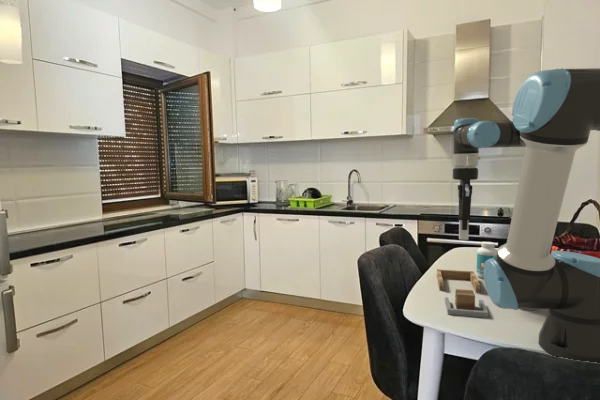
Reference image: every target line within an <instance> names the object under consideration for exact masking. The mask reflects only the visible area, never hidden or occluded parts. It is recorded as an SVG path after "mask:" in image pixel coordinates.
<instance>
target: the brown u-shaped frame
mask: <svg viewBox="0 0 600 400" xmlns="http://www.w3.org/2000/svg"><path fill="white" fill-rule="evenodd" d="M444 279H450V280H451V279H453V280H463V281H464V280H467V281H470V283H471V285H472V287H473V289H474V290H473V291H474V292H475V294H481V284H480V281H479V280H478V277H477V275H476V274H475V272H474V271H470V270H453V269H452V270H451V269H436V280H437V285H438V290H439V291H442V292H443V291H444Z"/></svg>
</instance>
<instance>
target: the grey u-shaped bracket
mask: <svg viewBox="0 0 600 400" xmlns="http://www.w3.org/2000/svg"><path fill="white" fill-rule="evenodd" d="M444 303H445V307H446V312H447V313H446V314H447V315H452V316H462V317H463V316H465V317H477V318H486V319H488V318H489V311H488V309H487V307H486V305H485V303H484V301H483V300H482V299H478V306H479V308H480V310H477V309H475V310H464V309H456V308H453V307H452V308H451V303H450V299H449V297H446V296H445V297H444Z"/></svg>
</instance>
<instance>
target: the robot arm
mask: <svg viewBox="0 0 600 400" xmlns="http://www.w3.org/2000/svg"><path fill="white" fill-rule="evenodd" d="M511 115H512V116H513V117H512V121H490V120H480V119H479V118H477V117H467V118H463V117H462V118H458V119H456V120H454V123H453V130H452V131H453V132H452V133H453V153H452V166H453V167H454V168H453V169H452V180H457V181H458V180H459V184H458V185H457V190H458V191H457V193H458V195H457V196H458V218H457V220H458V221H459V223H458V224H459V225H458V234H459V235H458V239H459V240H462V241H463V240H464V241H469V236H470V235H469V230H470V229H469V228H470V225H469V224H470V220H471V210H472V209H471V206H472V194H473V185H471V181H475V180H478V178H479V169H478V166H479V160H481V156H479V153H480V150H479V149H487V148H488V149H489V148H492V149H494V148H525V150H524V157H523V162H522V165H521V170H520V175H519V180H518V181H519V182H518V186H517V190H516V194H515V195H516V196H515V200H514V204H513V210H512V215H511V216H512V217H511V221H510V225H509V230H508V234H507V235H508V236H507V240H506V243H504V244H502V245H500V246H499V247H498V249H497V250H498V252H497V257H496V259H493V258H491V259H488V260H487V261H486V262H485V264H484V269H483V274H484V279H483V281H484V286H485V288H486V291H487V292H486V293H487V294H488V297H489V299H490V300H491V301H492V303H493V304H494V305H495V306H496V307H498V308H499V309H502V310H503V309H505V310H507V309H508V310H514V311H517V310H524V309H536V310H548V313H547V315H546V318H545V320H544V322H543V324H542V325H541V328H540V330H539V333H538V346H540V348H541V349H543V351H545V352H546V353H548V354H550V355H551V356H553V357H556V356H558V357H563V358H568V359H573V360H580V361H589V362H597V363H600V258H598V257H595V256H592V255H587V254H584V253H578V252H574V251H568V250H567V251H565V250H553V251H551V250H552V249H551V248H552V244H553V241H554V236H555V233H556V228H557V226H558V221H559V218H560V213H561V210H562V205H563V201H564V197H565V193H566V190H567V186H568V182H569V178H570V175H571V170H572V166H573V161H574V159H575V158H574V157H575V155H576V152H577V150H578V149H580V148H582V147H584V146H585V145H587V144H588V142H589V137H590V133H591V131H597V132H598V131H599V132H600V67H598V68H595V67H594V68H593V67H592V68H563V67H562V68H555V69H546V70H545V69H544V70H539V71H537V72H534V73H532V74H531V75H529V76H528V77H527V78H526V80H525V81H523V83H522V84H521V85H520V87H519V88H518V90H517V92H516V95H515V98H514V100H513V105H512V110H511ZM550 251H551V253H550ZM558 357H557V358H558Z"/></svg>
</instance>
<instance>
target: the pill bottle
mask: <svg viewBox="0 0 600 400" xmlns="http://www.w3.org/2000/svg"><path fill="white" fill-rule="evenodd" d="M480 246H481V247H479V248H478V249H477V251H476V272H475V273H476V274H475V275H476V277H477V278H479V279H483V280H484V274H483V269H482V268H481V263H484V264H485V262H486V261H487V260H488V259H491V258H493V259H496V257H497V252H498V249H497V248H495V247H496V243H495V242H492V241H482V242H480Z"/></svg>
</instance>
